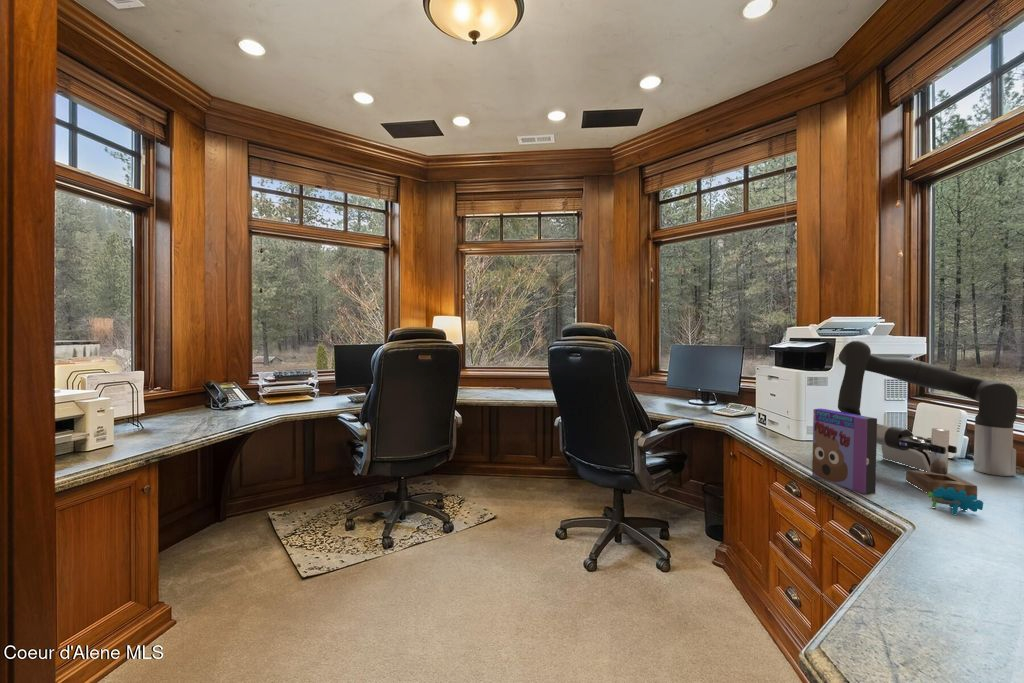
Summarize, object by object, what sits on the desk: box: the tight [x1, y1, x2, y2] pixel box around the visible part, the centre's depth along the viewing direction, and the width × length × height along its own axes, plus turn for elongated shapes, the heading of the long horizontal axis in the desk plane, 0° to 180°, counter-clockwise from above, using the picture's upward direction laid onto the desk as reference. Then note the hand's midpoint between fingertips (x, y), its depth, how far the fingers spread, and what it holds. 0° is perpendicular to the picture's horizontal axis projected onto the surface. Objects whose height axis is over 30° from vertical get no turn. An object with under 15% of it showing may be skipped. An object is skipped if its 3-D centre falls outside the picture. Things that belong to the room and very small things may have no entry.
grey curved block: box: [880, 445, 931, 472], centre depth 161 cm, size 17×5×10 cm, turn 8°
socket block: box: [905, 469, 978, 497], centre depth 137 cm, size 12×12×4 cm
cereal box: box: [811, 408, 878, 495], centre depth 141 cm, size 17×5×24 cm, turn 14°
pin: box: [930, 427, 950, 475], centre depth 136 cm, size 4×4×14 cm
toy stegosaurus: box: [927, 487, 984, 515], centre depth 119 cm, size 11×6×10 cm
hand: (950, 450), depth 134 cm, fingers closed on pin, 4 cm apart
